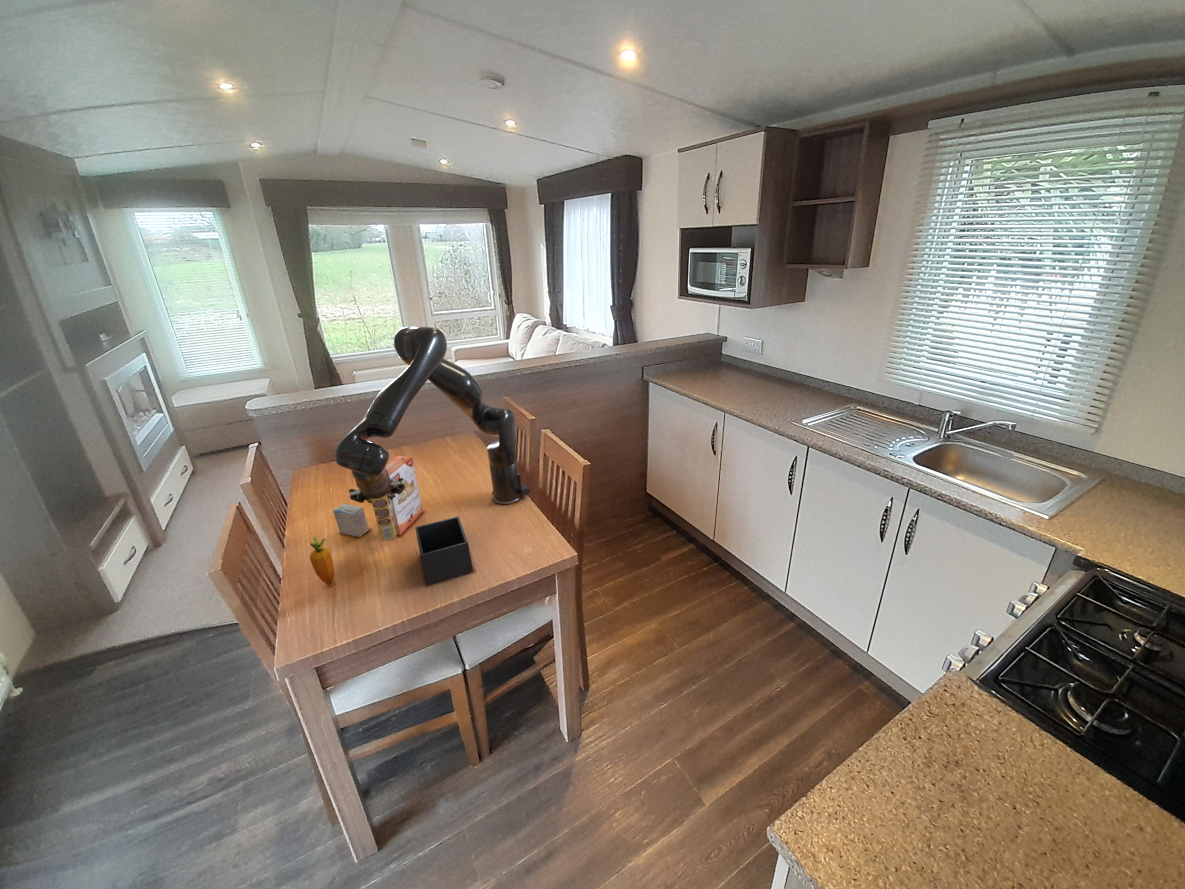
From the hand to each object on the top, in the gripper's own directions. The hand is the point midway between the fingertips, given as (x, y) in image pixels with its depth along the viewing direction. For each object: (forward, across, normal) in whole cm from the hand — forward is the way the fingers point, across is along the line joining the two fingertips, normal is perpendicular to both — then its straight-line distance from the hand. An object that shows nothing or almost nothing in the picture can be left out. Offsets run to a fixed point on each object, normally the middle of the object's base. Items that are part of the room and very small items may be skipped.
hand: (382, 498), depth 133 cm
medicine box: (+24, +11, +1) cm, 27 cm away
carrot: (+7, +17, +18) cm, 26 cm away
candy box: (+6, 0, +9) cm, 10 cm away
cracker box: (+23, -4, +3) cm, 23 cm away
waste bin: (+4, -13, +22) cm, 26 cm away
